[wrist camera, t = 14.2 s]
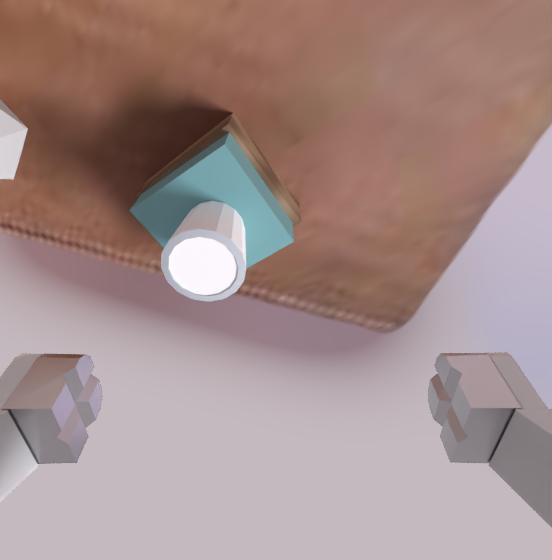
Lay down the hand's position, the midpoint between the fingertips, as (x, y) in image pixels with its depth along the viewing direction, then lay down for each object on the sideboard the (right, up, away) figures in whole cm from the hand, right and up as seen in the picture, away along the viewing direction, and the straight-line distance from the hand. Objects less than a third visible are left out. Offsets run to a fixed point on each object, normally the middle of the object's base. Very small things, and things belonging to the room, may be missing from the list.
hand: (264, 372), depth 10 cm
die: (-28, +18, +32) cm, 46 cm away
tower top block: (-6, +10, +32) cm, 34 cm away
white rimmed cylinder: (-5, +7, +29) cm, 30 cm away
